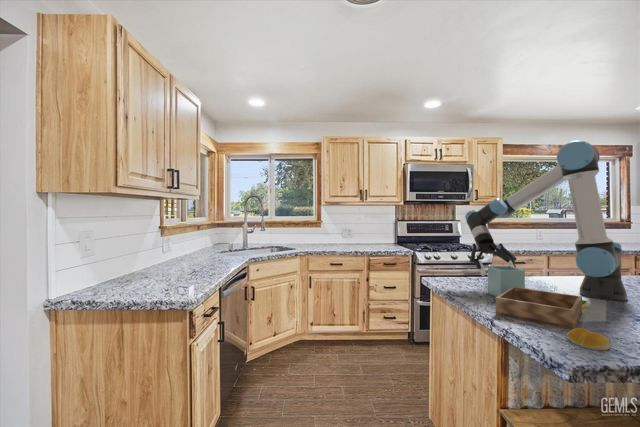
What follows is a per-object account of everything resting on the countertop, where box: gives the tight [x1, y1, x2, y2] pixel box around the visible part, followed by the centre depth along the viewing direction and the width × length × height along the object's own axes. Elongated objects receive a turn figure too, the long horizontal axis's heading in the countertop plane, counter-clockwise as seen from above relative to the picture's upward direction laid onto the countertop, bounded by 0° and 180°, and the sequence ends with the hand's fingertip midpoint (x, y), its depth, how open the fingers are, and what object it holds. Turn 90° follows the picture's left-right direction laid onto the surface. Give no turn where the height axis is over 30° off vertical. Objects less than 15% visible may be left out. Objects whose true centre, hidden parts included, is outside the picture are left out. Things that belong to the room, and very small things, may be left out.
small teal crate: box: [487, 265, 526, 298], centre depth 138 cm, size 10×10×12 cm
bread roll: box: [566, 327, 611, 351], centre depth 89 cm, size 8×9×4 cm
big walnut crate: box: [495, 287, 583, 330], centre depth 114 cm, size 22×22×6 cm
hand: (499, 274), depth 141 cm, fingers open, 13 cm apart
